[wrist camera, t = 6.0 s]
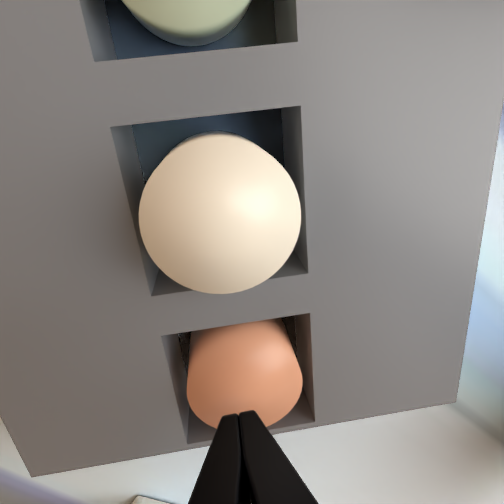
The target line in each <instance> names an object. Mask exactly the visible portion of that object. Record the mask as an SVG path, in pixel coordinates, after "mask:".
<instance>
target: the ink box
mask: <svg viewBox="0 0 504 504" xmlns="http://www.w3.org/2000/svg"><path fill="white" fill-rule="evenodd" d="M132 504H170V503H166V502H162V501H158V500H154V499H150V498H146V497H142V496H137V497H136V498H135V499H134V501H133V502H132Z"/></svg>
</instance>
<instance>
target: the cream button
mask: <svg viewBox="0 0 504 504" xmlns="http://www.w3.org/2000/svg"><path fill="white" fill-rule="evenodd" d="M300 225H301V207H300V201H299V197H298V193H297V190H296V188H295V185H294V183H293V181H292V179H291V178H290V176H289V174H288V173H287V172H286V170H285V169H284V168H283V166H282V165H281V164H280V163H279V162H278V161H277V160H276V159H275V158H274V157H272V156H271V155H270V154H268V153H267V152H266V151H264V150H263V149H262V148H260V147H259V146H258V145H256V144H255V143H253V142H252V141H251V140H249V139H247V138H245V137H243V136H240V135H238V134H235V133H230V132H225V131H208V132H203V133H199V134H196V135H193V136H191V137H189V138H187V139H185V140H183V141H182V142H180V143H179V144H177V145H176V146H175V147H174V148H173V149H172V150H171V151H170V152H169V153H168V155H167V156H166V157H165V158H164V159H163V161H162V162H161V163H160V164H159V165H158V167H157V168H156V169H155V170H154V172H153V173H152V175H151V176H150V178H149V179H148V181H147V183H146V185H145V188H144V190H143V193H142V197H141V200H140V206H139V227H140V233H141V237H142V240H143V243H144V245H145V247H146V250H147V252H148V254H149V255H150V257H151V258H152V260H153V261H154V263H155V264H156V265H157V266H158V267H159V268H160V269H161V270H162V271H163V272H164V273H165V274H166V275H167V276H168V277H170V278H171V279H173V280H174V281H175V282H177V283H179V284H181V285H183V286H185V287H187V288H190V289H192V290H196V291H199V292H203V293H210V294H229V293H235V292H240V291H244V290H247V289H250V288H252V287H254V286H256V285H259V284H260V283H262V282H264V281H265V280H267V279H268V278H270V277H271V276H272V275H273V274H275V273H276V272H277V271H278V270H279V269H280V268H281V267H282V266H283V264H284V263H285V262H286V260H287V259H288V258H289V256H290V254H291V253H292V251H293V249H294V247H295V244H296V242H297V239H298V235H299V232H300Z"/></svg>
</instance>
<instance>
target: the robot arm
mask: <svg viewBox="0 0 504 504" xmlns="http://www.w3.org/2000/svg"><path fill="white" fill-rule="evenodd" d="M251 503H252V504H318V502H317V501H316V499H315V498H314V496H313V495H312V493H311V492H310V490H309V489H308V488H307V486H306V485H305V483H304V482H303V480H302V479H301V477H300V476H299V474H298V473H297V471H296V470H295V468H294V467H293V466H292V464H291V463H290V461H289V460H288V458H287V457H286V455H285V454H284V452H283V451H282V449H281V448H280V446H279V445H278V443H277V442H276V441H275V439H274V438H273V436H272V435H271V433H270V432H269V430H268V429H267V427H266V426H265V424H264V423H263V421H262V420H261V418H260V417H259V416H258V414H257V413H256V411H254V410H249V411H244V412H240V413H239V416H238V414H237V413H233V414H228V415H224V416H222V417H221V419H220V422H219V424H218V427H217V429H216V432H215V435H214V437H213V440H212V442H211V445H210V448H209V450H208V453H207V455H206V458H205V461H204V463H203V466H202V468H201V471H200V474H199V476H198V479H197V481H196V484H195V487H194V489H193V492H192V495H191V497H190V500H189V502H188V504H251Z"/></svg>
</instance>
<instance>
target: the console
mask: <svg viewBox="0 0 504 504" xmlns="http://www.w3.org/2000/svg"><path fill="white" fill-rule="evenodd" d="M274 10H275V25H276V41H277V44H271V45H260V46H250V47H240V48H230V49H220V50H210V51H200V52H190V53H180V54H170V55H160V56H150V57H140V58H130V59H120V60H117V57H116V52H115V48H114V43H113V39H112V34H111V29H110V25H109V20H108V16H107V11H106V7H105V2H104V0H0V416H1V418H2V420H3V422H4V424H5V426H6V428H7V430H8V432H9V434H10V436H11V438H12V440H13V442H14V444H15V446H16V448H17V450H18V452H19V454H20V456H21V458H22V460H23V462H24V464H25V466H26V468H27V470H28V471H29V473H30V475H31V477H36V476H42V475H48V474H53V473H59V472H65V471H70V470H76V469H82V468H87V467H93V466H98V465H104V464H110V463H115V462H121V461H127V460H132V459H138V458H143V457H149V456H155V455H160V454H166V453H172V452H177V451H183V450H189V449H194V448H200V447H205V446H210V445H211V442H212V440H213V437H214V435H215V432H216V428H214V427H212V426H210V425H208V424H206V423H204V422H203V421H202V420H200V419H199V418H198V417H197V416H196V415H195V413H194V412H193V411H192V409H191V407H190V405H189V402H188V399H187V375H186V370H185V366H184V361H183V356H182V352H181V347H180V343H179V338H178V334H177V333H183V332H189V331H196V330H202V329H209V328H215V327H222V326H228V325H235V324H241V323H248V322H254V321H261V320H267V319H274V318H280V317H287V316H293V315H295V331H296V346H297V361H298V364H299V367H300V370H301V373H302V379H303V382H302V391H301V394H300V397H299V399H298V401H297V403H296V404H295V406H294V407H293V408H292V409H291V410H290V412H289V413H288V414H286V415H285V416H284V417H283V418H282V419H280V420H279V421H277V422H275V423H274V424H272V425H270V426H267V429H268V430H269V432H270V433H271V435H273V434H279V433H284V432H290V431H296V430H301V429H307V428H312V427H318V426H324V425H329V424H335V423H341V422H346V421H352V420H358V419H363V418H369V417H374V416H380V415H386V414H391V413H397V412H403V411H408V410H414V409H420V408H425V407H431V406H436V405H442V404H448V403H453V402H456V398H457V392H458V386H459V379H460V373H461V367H462V360H463V354H464V348H465V341H466V335H467V329H468V323H469V316H470V310H471V304H472V297H473V291H474V285H475V278H476V272H477V266H478V259H479V253H480V247H481V240H482V234H483V228H484V221H485V215H486V209H487V202H488V196H489V190H490V183H491V177H492V171H493V164H494V158H495V152H496V146H497V139H498V133H499V127H500V120H501V114H502V108H503V101H504V0H274ZM274 108H281V117H282V132H283V148H284V163H285V170H286V172H287V173H288V174H289V176H290V178H291V179H292V181H293V183H294V185H295V188H296V190H297V193H298V197H299V201H300V207H301V225H300V232H299V235H298V239H297V242H296V244H295V247H294V249H293V251H292V253H291V254H290V256H289V258H288V259H287V260H286V262H285V263H284V264H283V266H282V267H281V268H280V269H279V270H278V271H277V272H276V273H275V274H273V275H272V276H271V277H270V278H268V279H267V280H265V281H264V282H262V283H260V284H259V285H256V286H254V287H252V288H250V289H247V290H244V291H240V292H235V293H229V294H210V293H203V292H199V291H196V290H192V289H190V288H187V287H185V286H183V285H181V284H179V283H177V282H175V281H174V280H173V279H171V278H170V277H168V276H167V275H166V274H165V273H164V272H163V271H162V270H161V269H160V268H159V267H158V266H157V265H156V264H155V263H154V261H153V260H152V258H151V257H150V255H149V254H148V252H147V250H146V247H145V245H144V243H143V240H142V237H141V233H140V227H139V206H140V200H141V197H142V193H143V190H144V188H145V184H144V179H143V175H142V170H141V166H140V161H139V157H138V152H137V148H136V143H135V138H134V134H133V129H132V124H141V123H150V122H159V121H168V120H177V119H186V118H194V117H203V116H212V115H221V114H230V113H239V112H248V111H257V110H265V109H274Z"/></svg>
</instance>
